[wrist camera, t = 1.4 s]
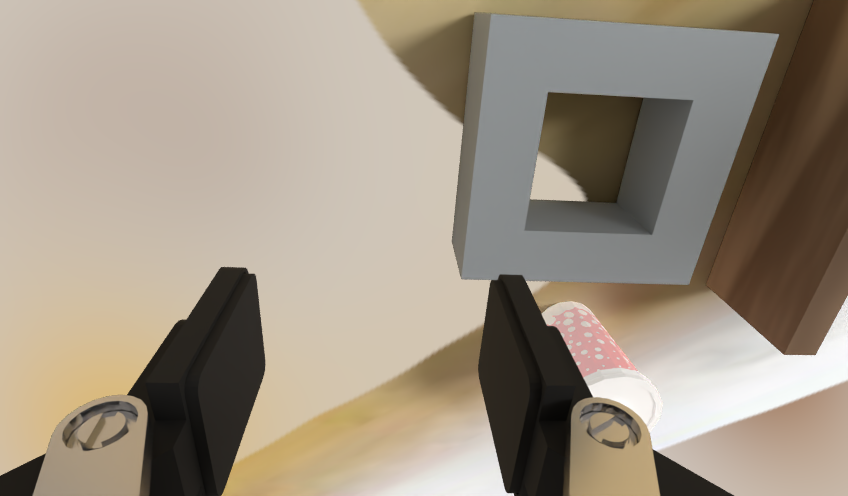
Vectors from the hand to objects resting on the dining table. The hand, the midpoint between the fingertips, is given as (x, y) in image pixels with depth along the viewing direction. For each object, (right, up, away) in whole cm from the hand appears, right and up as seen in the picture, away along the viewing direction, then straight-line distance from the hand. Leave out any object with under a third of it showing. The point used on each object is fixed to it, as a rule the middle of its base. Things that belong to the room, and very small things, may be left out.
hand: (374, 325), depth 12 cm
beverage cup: (+12, -4, +25) cm, 28 cm away
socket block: (+11, +8, +18) cm, 23 cm away
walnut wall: (+24, +8, +19) cm, 32 cm away
